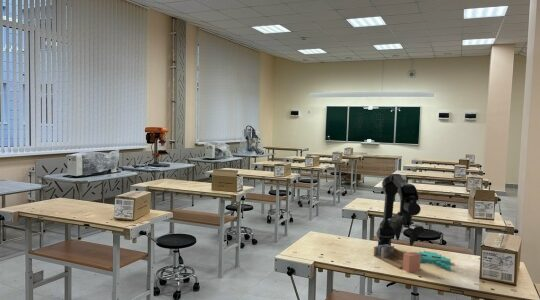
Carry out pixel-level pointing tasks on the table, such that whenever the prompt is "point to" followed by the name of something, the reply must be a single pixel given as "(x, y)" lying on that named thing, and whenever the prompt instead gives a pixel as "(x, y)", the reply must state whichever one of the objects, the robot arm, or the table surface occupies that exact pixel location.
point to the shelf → (389, 255)
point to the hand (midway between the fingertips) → (404, 242)
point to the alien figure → (435, 259)
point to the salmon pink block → (411, 261)
